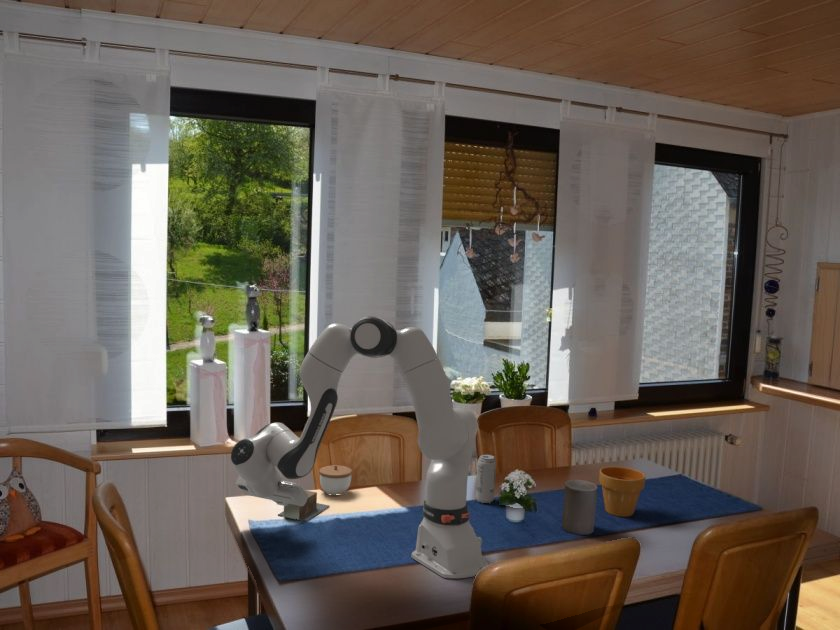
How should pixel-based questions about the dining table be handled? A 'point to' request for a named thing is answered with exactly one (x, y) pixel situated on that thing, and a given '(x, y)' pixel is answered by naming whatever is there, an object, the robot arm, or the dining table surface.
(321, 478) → the lidded jar
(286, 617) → the dining table surface
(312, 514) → the felt mat
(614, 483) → the flower pot
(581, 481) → the pillar candle
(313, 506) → the walnut block
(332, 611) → the dining table surface
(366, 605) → the dining table surface
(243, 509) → the dining table surface
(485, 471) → the energy drink can
